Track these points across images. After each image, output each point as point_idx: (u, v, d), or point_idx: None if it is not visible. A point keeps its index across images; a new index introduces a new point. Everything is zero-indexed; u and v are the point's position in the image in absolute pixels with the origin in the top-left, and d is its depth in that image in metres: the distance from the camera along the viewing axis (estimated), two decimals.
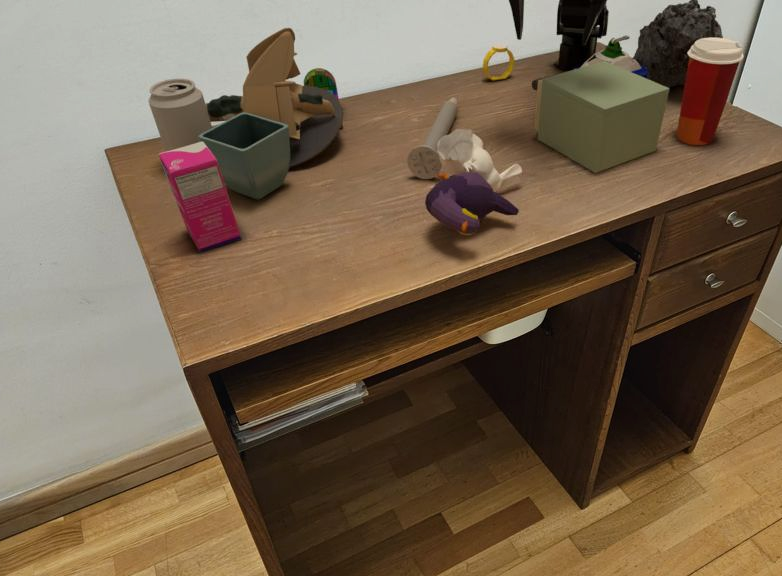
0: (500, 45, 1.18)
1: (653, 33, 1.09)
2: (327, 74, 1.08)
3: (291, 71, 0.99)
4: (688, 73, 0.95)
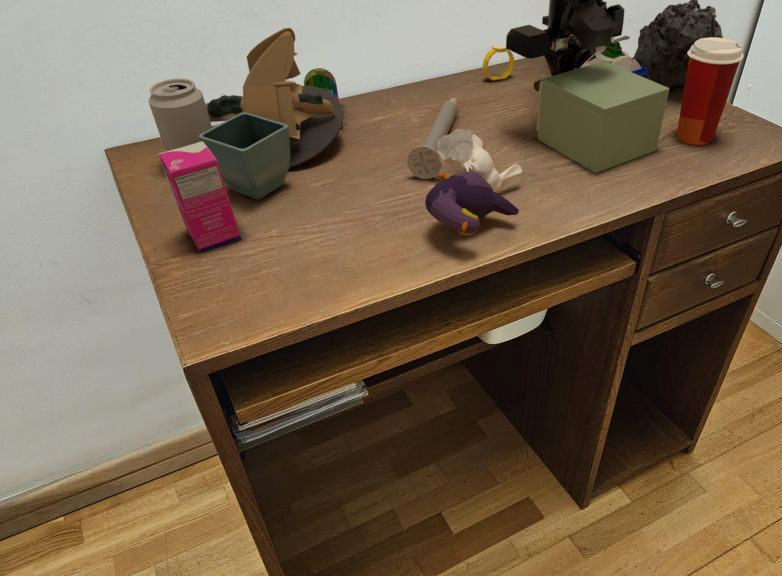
0: (500, 45, 1.18)
1: (653, 33, 1.09)
2: (327, 74, 1.08)
3: (291, 71, 0.99)
4: (688, 73, 0.95)
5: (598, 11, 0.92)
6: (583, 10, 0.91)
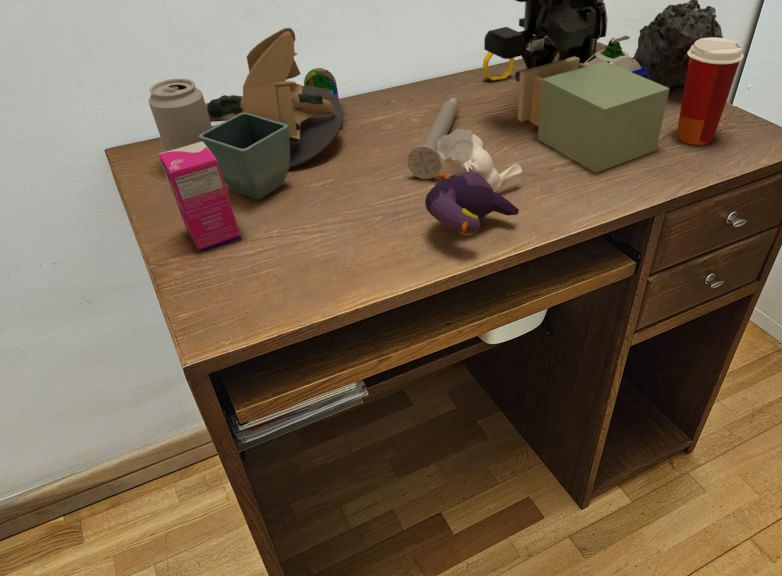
0: None
1: (653, 33, 1.09)
2: (327, 74, 1.08)
3: (291, 71, 0.99)
4: (688, 73, 0.95)
5: (571, 13, 0.96)
6: (556, 12, 0.96)
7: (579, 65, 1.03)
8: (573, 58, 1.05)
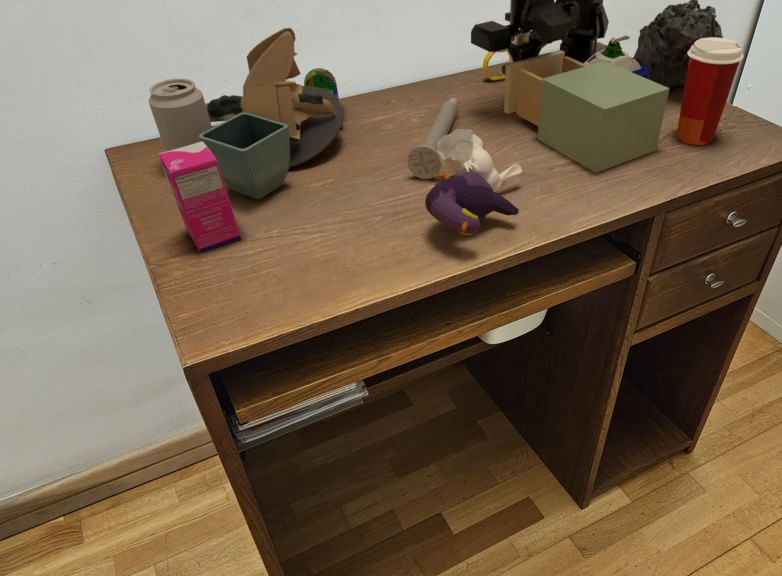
0: None
1: (653, 33, 1.09)
2: (327, 74, 1.08)
3: (291, 71, 0.99)
4: (688, 73, 0.95)
5: (555, 7, 0.99)
6: (541, 6, 0.98)
7: (564, 58, 1.06)
8: (558, 52, 1.07)
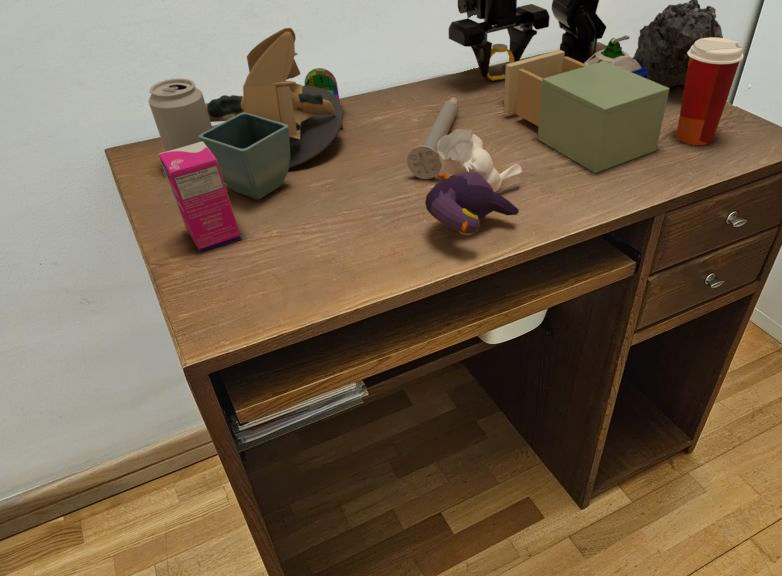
0: (500, 45, 1.18)
1: (653, 33, 1.09)
2: (328, 74, 1.08)
3: (291, 71, 0.99)
4: (688, 73, 0.95)
5: None
6: None
7: (564, 58, 1.06)
8: (558, 52, 1.07)
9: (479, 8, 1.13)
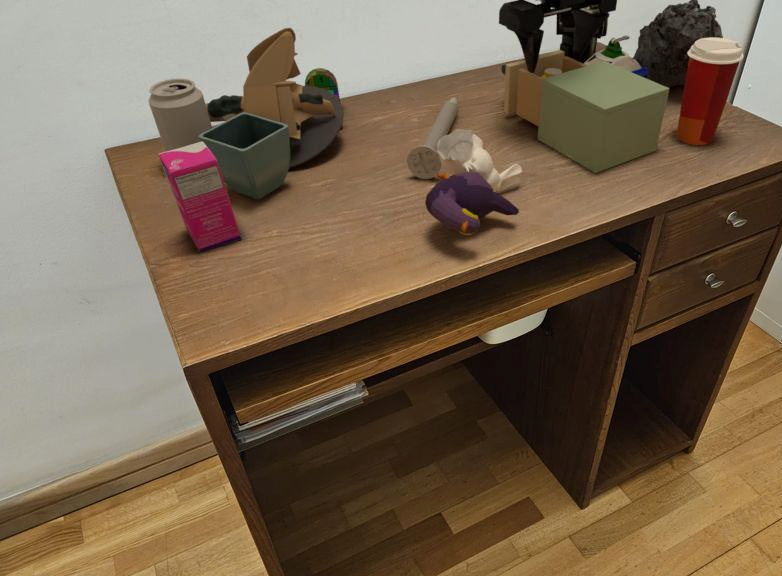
0: (553, 70, 1.03)
1: (653, 33, 1.09)
2: (328, 74, 1.08)
3: (291, 71, 0.99)
4: (688, 73, 0.95)
5: None
6: None
7: (564, 58, 1.06)
8: (558, 51, 1.07)
9: None
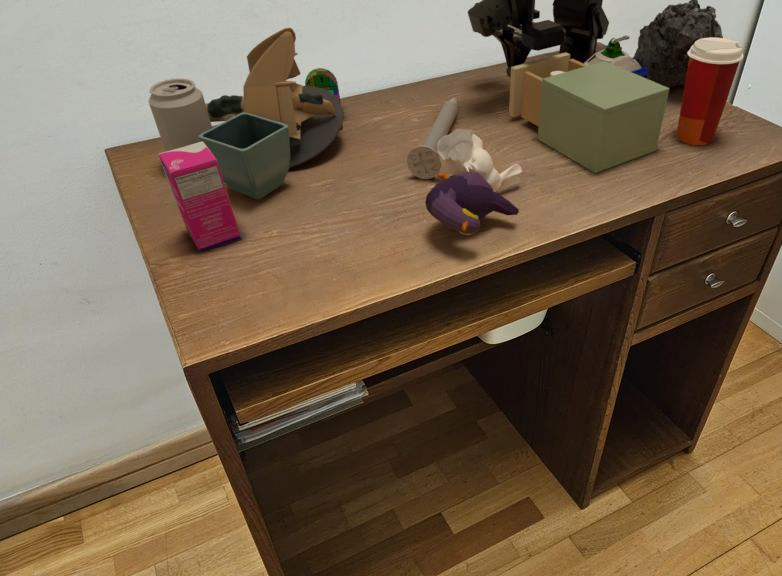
0: (559, 73, 1.02)
1: (653, 33, 1.09)
2: (328, 74, 1.08)
3: (291, 71, 0.99)
4: (688, 73, 0.95)
5: (496, 5, 1.00)
6: None
7: (569, 61, 1.05)
8: (564, 54, 1.06)
9: (516, 13, 1.01)
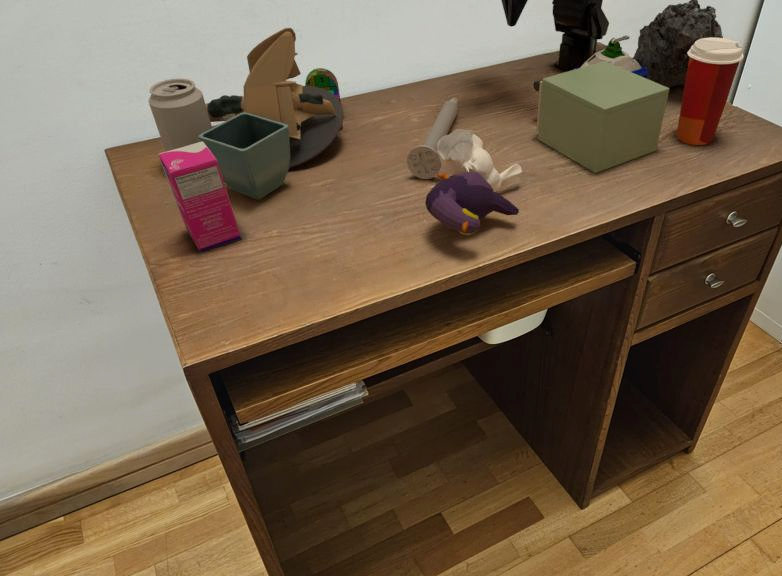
0: None
1: (653, 33, 1.09)
2: (328, 74, 1.08)
3: (291, 71, 0.99)
4: (688, 73, 0.95)
5: None
6: None
7: None
8: None
9: None
